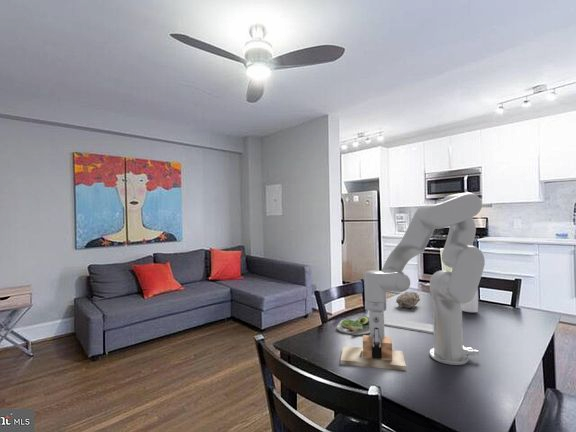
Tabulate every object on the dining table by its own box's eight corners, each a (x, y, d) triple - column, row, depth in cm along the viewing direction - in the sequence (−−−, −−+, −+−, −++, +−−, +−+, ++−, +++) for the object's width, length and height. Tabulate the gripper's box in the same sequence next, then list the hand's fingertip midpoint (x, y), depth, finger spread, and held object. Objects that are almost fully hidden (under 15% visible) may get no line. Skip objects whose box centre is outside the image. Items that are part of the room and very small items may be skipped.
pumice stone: (406, 302, 185) (405, 289, 185) (425, 306, 176) (425, 292, 176) (393, 307, 176) (393, 293, 176) (413, 312, 167) (412, 297, 167)
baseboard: (373, 316, 162) (366, 323, 152) (373, 311, 162) (366, 318, 152) (438, 326, 146) (434, 335, 136) (438, 320, 146) (434, 328, 136)
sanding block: (391, 353, 115) (390, 336, 115) (392, 360, 109) (391, 343, 109) (363, 350, 117) (362, 335, 117) (363, 358, 111) (362, 341, 111)
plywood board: (402, 354, 116) (402, 350, 116) (406, 370, 105) (405, 365, 105) (343, 350, 122) (343, 346, 122) (340, 364, 110) (340, 359, 110)
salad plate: (372, 341, 131) (372, 330, 131) (331, 335, 138) (331, 325, 138) (379, 325, 148) (378, 316, 148) (342, 321, 156) (342, 312, 156)
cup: (456, 311, 165) (455, 284, 166) (466, 309, 169) (466, 283, 169) (471, 315, 158) (470, 288, 158) (482, 313, 161) (481, 286, 161)
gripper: (387, 312, 104) (388, 366, 104) (385, 299, 120) (386, 345, 120) (364, 311, 106) (365, 364, 106) (365, 298, 122) (366, 343, 122)
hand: (376, 353), depth 113 cm, fingers closed on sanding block, 6 cm apart
